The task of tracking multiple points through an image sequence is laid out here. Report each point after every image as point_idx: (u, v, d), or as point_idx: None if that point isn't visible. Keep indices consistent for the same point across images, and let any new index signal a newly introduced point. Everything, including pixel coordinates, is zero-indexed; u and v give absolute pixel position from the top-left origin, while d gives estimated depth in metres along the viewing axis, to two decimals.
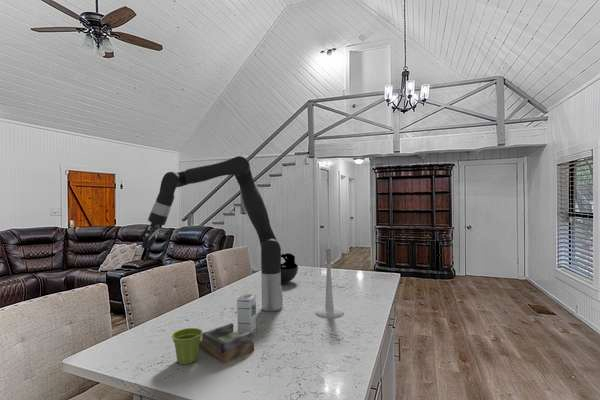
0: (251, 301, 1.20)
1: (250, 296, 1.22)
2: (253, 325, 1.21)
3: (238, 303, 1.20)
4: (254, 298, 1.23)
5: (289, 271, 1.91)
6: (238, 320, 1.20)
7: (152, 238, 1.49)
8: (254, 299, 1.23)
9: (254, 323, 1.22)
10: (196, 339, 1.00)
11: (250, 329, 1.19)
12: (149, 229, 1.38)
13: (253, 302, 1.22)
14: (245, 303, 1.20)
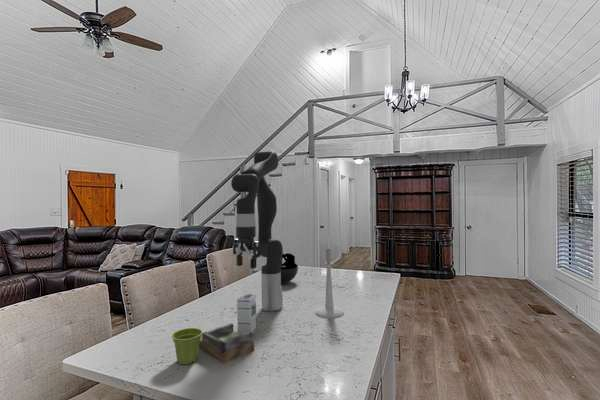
0: (251, 301, 1.20)
1: (250, 296, 1.22)
2: (253, 325, 1.21)
3: (238, 303, 1.20)
4: (254, 298, 1.23)
5: (289, 271, 1.91)
6: (238, 320, 1.20)
7: (239, 257, 1.25)
8: (254, 299, 1.23)
9: (254, 323, 1.22)
10: (196, 339, 1.00)
11: (250, 329, 1.19)
12: (257, 245, 1.18)
13: (253, 302, 1.22)
14: (245, 303, 1.20)
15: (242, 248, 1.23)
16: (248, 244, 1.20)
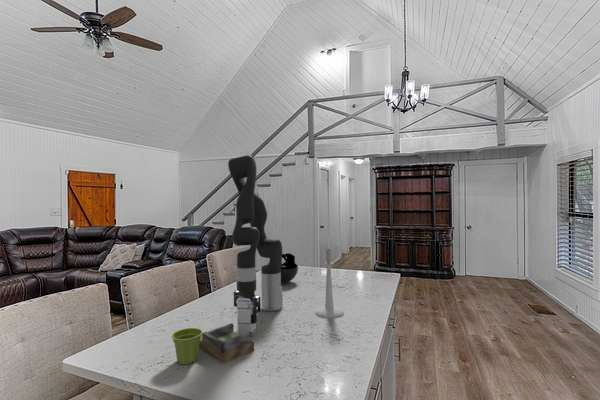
0: (251, 301, 1.20)
1: None
2: (253, 325, 1.21)
3: (238, 303, 1.20)
4: None
5: (289, 271, 1.91)
6: (238, 320, 1.20)
7: None
8: None
9: (254, 323, 1.22)
10: (196, 339, 1.00)
11: (250, 329, 1.19)
12: (258, 301, 1.18)
13: None
14: (245, 303, 1.20)
15: None
16: None
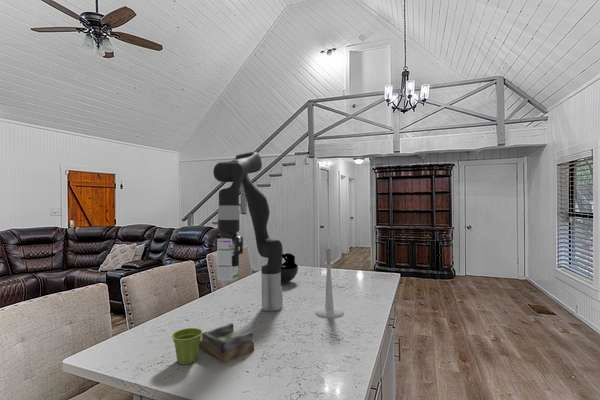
0: (233, 242, 1.09)
1: None
2: (234, 269, 1.10)
3: (218, 244, 1.09)
4: None
5: (289, 271, 1.91)
6: (218, 263, 1.09)
7: None
8: None
9: (235, 268, 1.10)
10: (196, 339, 1.00)
11: (231, 272, 1.08)
12: (240, 240, 1.07)
13: None
14: (226, 244, 1.09)
15: None
16: None
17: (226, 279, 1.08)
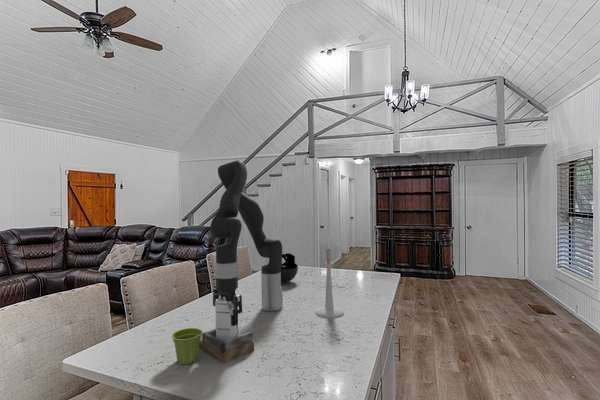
0: (231, 304, 1.07)
1: None
2: (234, 331, 1.08)
3: (216, 306, 1.07)
4: None
5: (289, 271, 1.91)
6: (216, 325, 1.07)
7: None
8: None
9: (234, 329, 1.08)
10: (196, 339, 1.00)
11: (230, 336, 1.06)
12: (239, 299, 1.05)
13: None
14: (224, 306, 1.06)
15: None
16: (229, 298, 1.06)
17: None
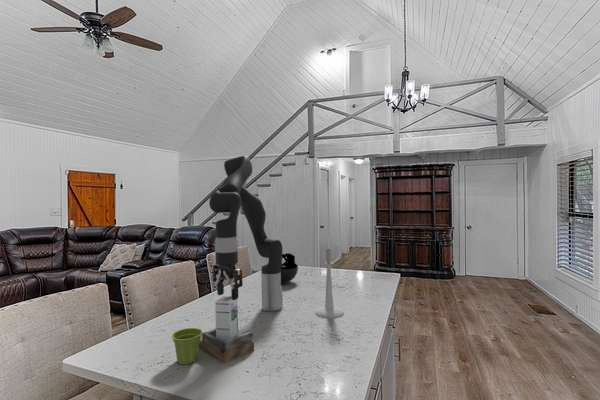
0: (231, 304, 1.07)
1: (230, 298, 1.09)
2: (233, 331, 1.08)
3: (216, 306, 1.07)
4: (235, 301, 1.10)
5: (289, 271, 1.91)
6: (216, 325, 1.07)
7: (220, 285, 1.12)
8: (235, 302, 1.10)
9: (234, 329, 1.08)
10: (196, 339, 1.00)
11: (230, 336, 1.06)
12: (239, 273, 1.05)
13: (233, 306, 1.08)
14: (224, 306, 1.06)
15: (222, 276, 1.09)
16: (229, 272, 1.06)
17: None
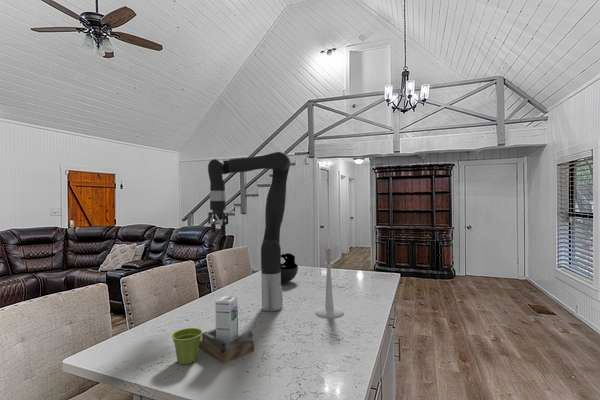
0: (231, 304, 1.07)
1: (230, 298, 1.09)
2: (233, 331, 1.08)
3: (216, 306, 1.07)
4: (235, 301, 1.10)
5: (289, 271, 1.91)
6: (216, 325, 1.07)
7: (213, 225, 1.59)
8: (235, 302, 1.10)
9: (234, 329, 1.08)
10: (196, 339, 1.00)
11: (230, 336, 1.06)
12: (226, 215, 1.52)
13: (233, 306, 1.08)
14: (224, 306, 1.06)
15: (215, 218, 1.56)
16: (219, 214, 1.53)
17: None
